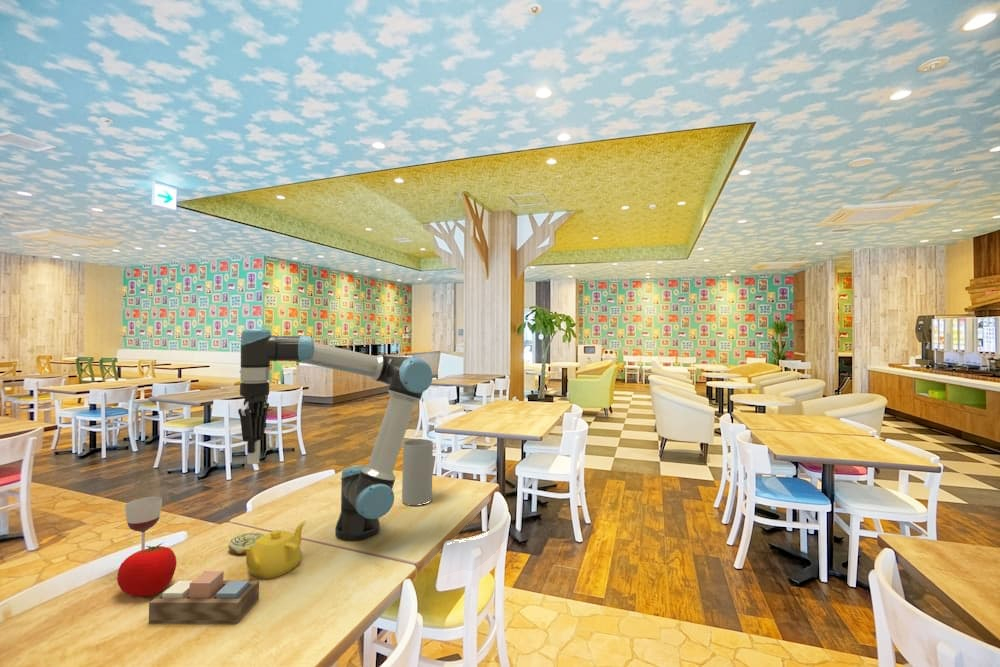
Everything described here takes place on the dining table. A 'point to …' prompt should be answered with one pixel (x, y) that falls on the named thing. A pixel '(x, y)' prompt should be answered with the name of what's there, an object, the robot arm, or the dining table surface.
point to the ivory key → (177, 590)
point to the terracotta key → (206, 585)
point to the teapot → (274, 553)
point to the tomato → (147, 571)
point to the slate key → (232, 590)
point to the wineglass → (143, 514)
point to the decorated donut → (243, 542)
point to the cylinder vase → (417, 471)
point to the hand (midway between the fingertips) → (253, 463)
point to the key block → (203, 608)
